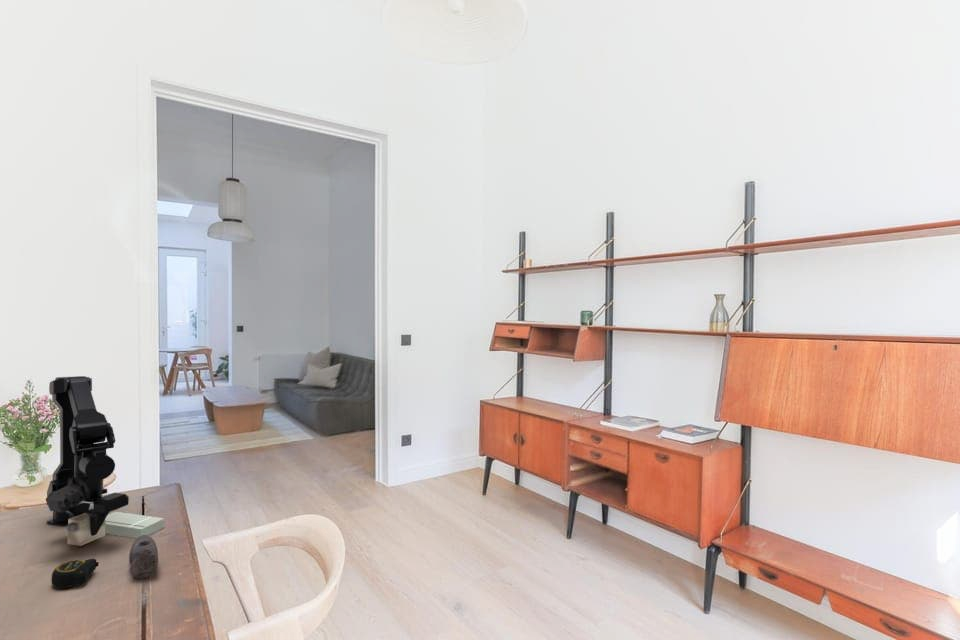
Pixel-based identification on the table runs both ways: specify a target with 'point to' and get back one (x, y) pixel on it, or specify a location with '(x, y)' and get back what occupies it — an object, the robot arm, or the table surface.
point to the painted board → (132, 524)
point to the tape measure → (73, 572)
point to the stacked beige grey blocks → (82, 530)
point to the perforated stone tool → (143, 557)
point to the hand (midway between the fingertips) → (86, 534)
